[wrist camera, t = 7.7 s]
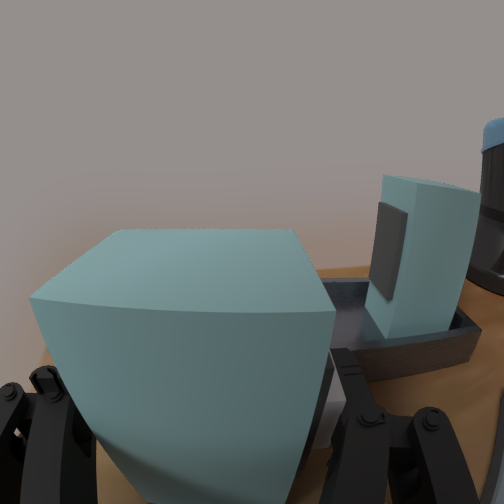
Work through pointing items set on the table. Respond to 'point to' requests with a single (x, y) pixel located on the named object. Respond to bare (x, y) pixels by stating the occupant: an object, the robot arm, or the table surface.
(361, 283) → the dark gray tray
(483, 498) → the bracket
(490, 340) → the table surface
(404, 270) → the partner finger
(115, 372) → the finger
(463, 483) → the robot arm
